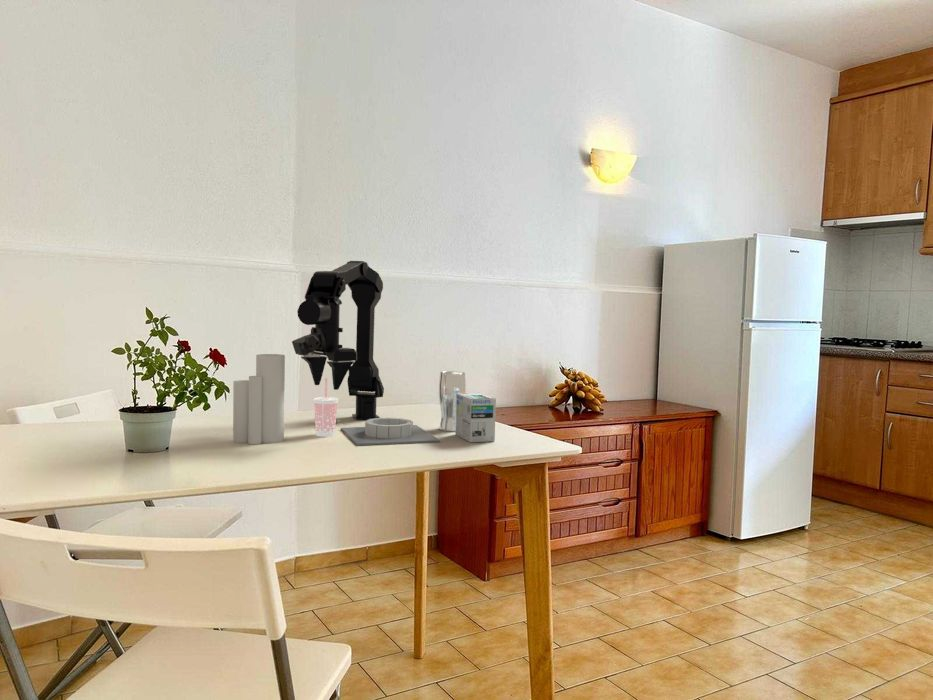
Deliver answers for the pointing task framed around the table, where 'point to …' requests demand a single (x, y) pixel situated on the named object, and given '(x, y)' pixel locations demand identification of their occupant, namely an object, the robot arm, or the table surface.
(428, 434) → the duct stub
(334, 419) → the beverage cup
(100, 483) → the table surface
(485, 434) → the light bulb box
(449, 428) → the beer glass
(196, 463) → the table surface
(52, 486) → the table surface
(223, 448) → the table surface
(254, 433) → the vase
